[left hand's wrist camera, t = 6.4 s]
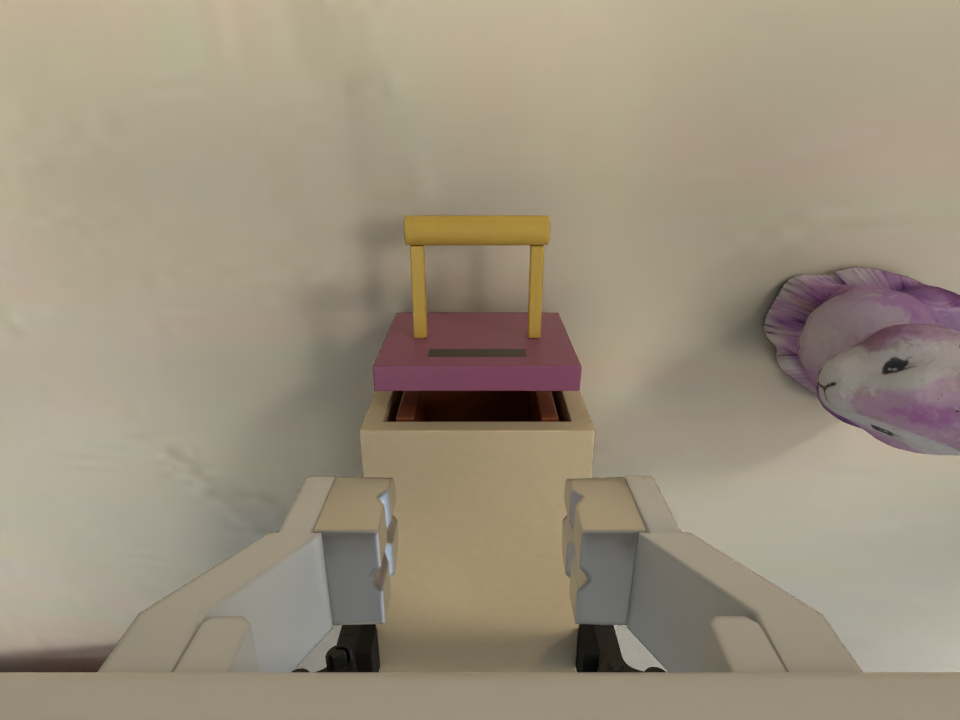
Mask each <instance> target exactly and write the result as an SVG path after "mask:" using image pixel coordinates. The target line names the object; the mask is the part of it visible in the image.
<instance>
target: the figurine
mask: <svg viewBox="0 0 960 720" xmlns="http://www.w3.org/2000/svg"><path fill="white" fill-rule="evenodd" d="M764 331H765V334H766V336H767V337H768V339H769V340H770V341H771V342H772V343H773V344H774V345H775V346H776V349H777V353H776V359H777V362H778V364H779V366H780V368H781V369H782V370H783V371H784V372H785V373H786V374H788V375H789V376H790V377H791V378H793V379H794V380H796V381H797V382H798V383H800V384H801V385H803V386H804V387H806V388H807V389H809V390H810V391H812V392H813V393H815V394H816V395H817V396H818V399H819V401H820V403H821V404H822V406H823V407H824V408H825V409H826V410H827V411H828V412H830V413H831V414H832V415H834V416H835V417H836V418H838V419H839V420H841V421H843V422H845V423H848V424H850V425H853V426H856V427H859V428H862V429H864V430H865V431H867V432H868V433H869V434H871V435H872V436H873V437H875V438H876V439H878V440H880V441H882V442H884V443H885V444H888V445H890V446H892V447H895V448H898V449H902V450H907V451H911V452H915V453H923V454H934V455H960V295H958V294H956V293H953V292H951V291H948V290H945V289H942V288H939V287H934V286H928V285H925V284H922V283H920V282H918V281H916V280H914V279H912V278H909V277H906V276H902V275H898V274H894V273H891V272H887V271H883V270H878V269H872V268H863V267H852V268H848V269H844V270H840V271H835V272H834V273H831V274H829V275H824V274H823V275H799V276H796V277H792V278H790V279H789V281H788V282H787V283H785V284H784V285H783V288H781V292H779V293H778V296H777V297H776V300H775V301H774V302H773V305H771V309H769V312H768V313H767V316H766V320H765V325H764Z"/></svg>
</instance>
